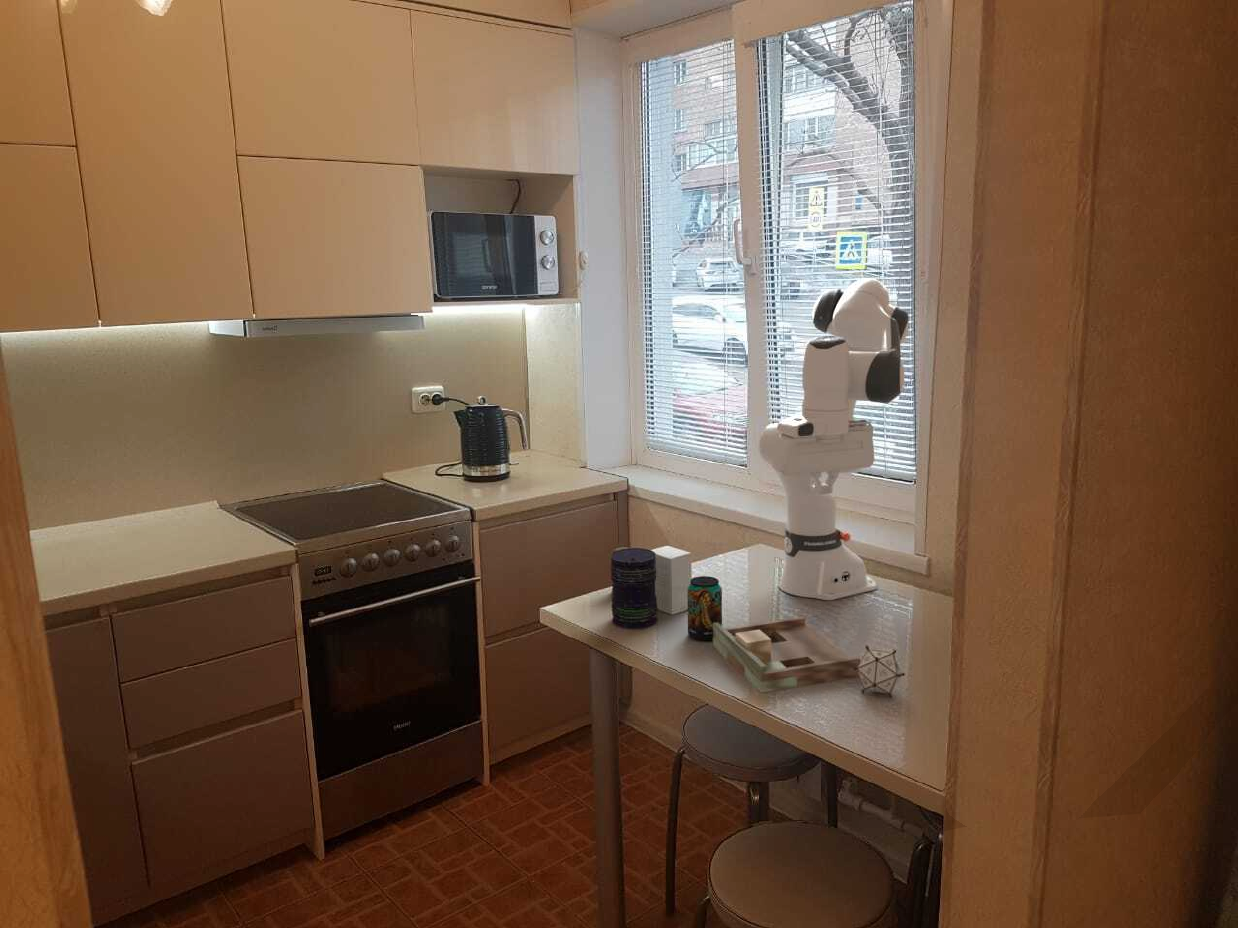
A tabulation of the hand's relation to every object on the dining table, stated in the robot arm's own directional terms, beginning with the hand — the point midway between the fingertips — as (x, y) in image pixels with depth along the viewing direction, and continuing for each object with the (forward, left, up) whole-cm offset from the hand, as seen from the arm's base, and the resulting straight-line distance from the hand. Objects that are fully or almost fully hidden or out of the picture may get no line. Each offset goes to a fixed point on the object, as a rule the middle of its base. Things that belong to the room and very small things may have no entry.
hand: (823, 493), depth 178 cm
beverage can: (+20, -12, -31) cm, 39 cm away
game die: (+1, +22, -31) cm, 39 cm away
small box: (+21, -30, -31) cm, 48 cm away
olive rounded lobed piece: (+28, -42, -31) cm, 59 cm away
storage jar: (+31, -25, -31) cm, 51 cm away
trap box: (+10, +4, -31) cm, 33 cm away
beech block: (+17, +5, -29) cm, 34 cm away
